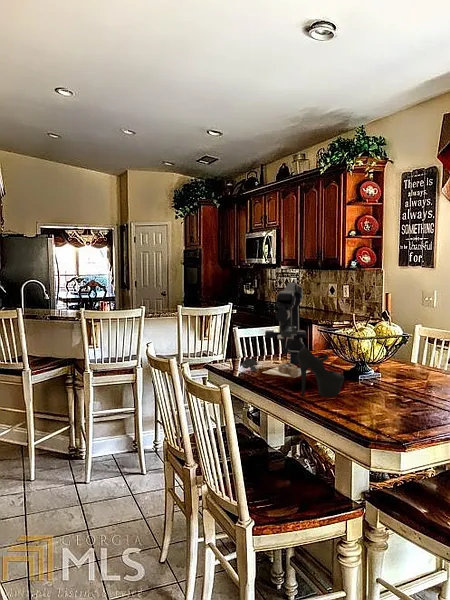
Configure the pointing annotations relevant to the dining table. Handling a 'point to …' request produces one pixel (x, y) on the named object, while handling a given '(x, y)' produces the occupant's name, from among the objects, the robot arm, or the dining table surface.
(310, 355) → the high-heeled shoe
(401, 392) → the dining table surface
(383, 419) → the dining table surface
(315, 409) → the dining table surface
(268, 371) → the birch board
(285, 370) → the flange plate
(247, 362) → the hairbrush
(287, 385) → the dining table surface
